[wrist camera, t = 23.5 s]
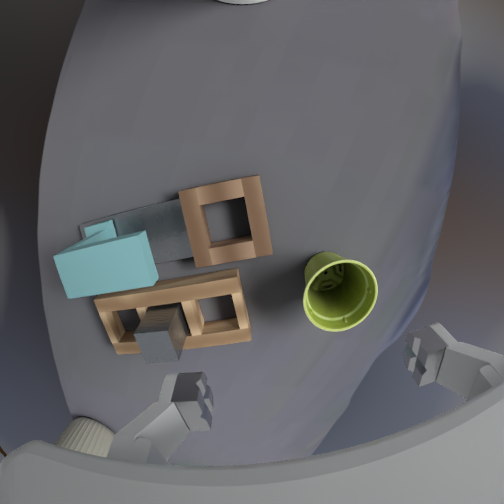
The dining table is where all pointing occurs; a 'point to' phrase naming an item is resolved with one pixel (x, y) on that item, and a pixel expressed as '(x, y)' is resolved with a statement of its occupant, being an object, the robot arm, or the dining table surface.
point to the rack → (188, 295)
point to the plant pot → (338, 292)
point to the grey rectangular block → (162, 333)
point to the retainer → (106, 262)
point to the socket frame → (197, 224)
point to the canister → (86, 437)
